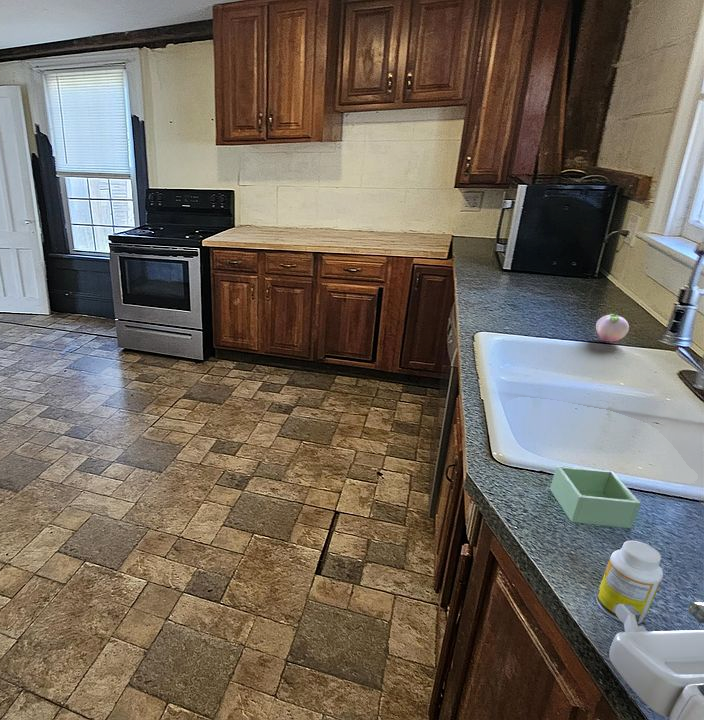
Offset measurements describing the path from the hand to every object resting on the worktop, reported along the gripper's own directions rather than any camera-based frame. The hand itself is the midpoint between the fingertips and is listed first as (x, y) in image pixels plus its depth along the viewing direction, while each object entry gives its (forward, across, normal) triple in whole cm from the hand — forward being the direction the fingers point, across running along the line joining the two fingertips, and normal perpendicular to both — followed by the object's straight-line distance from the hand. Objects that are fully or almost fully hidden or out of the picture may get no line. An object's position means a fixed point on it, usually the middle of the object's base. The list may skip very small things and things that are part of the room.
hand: (658, 606), depth 66 cm
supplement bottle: (+4, 0, +6) cm, 7 cm away
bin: (+26, -10, +6) cm, 28 cm away
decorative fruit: (+107, -73, +6) cm, 129 cm away
